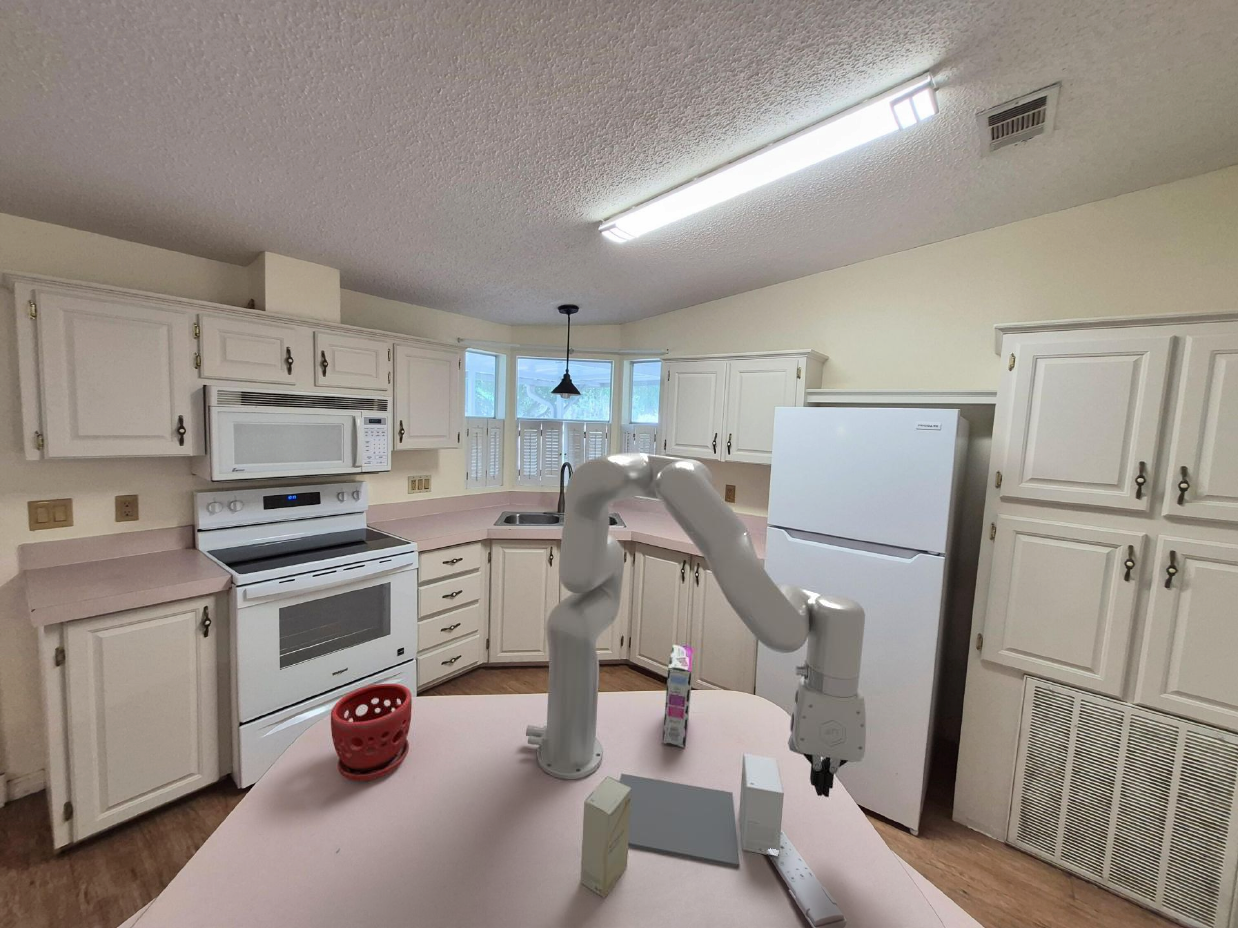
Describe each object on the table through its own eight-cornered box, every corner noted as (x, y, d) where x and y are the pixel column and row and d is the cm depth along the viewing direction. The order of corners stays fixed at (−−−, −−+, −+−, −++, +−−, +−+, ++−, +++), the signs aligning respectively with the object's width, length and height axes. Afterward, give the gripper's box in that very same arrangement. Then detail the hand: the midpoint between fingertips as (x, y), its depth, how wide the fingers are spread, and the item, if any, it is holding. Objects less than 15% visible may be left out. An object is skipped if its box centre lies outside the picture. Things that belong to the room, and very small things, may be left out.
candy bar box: (686, 749, 95) (692, 671, 94) (661, 744, 96) (666, 667, 95) (689, 716, 106) (694, 646, 104) (667, 712, 107) (671, 643, 105)
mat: (607, 842, 73) (607, 838, 73) (621, 776, 87) (621, 773, 87) (739, 867, 70) (739, 864, 70) (732, 795, 84) (732, 792, 83)
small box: (778, 859, 72) (784, 794, 71) (741, 850, 73) (746, 786, 72) (772, 816, 79) (777, 757, 79) (738, 809, 81) (743, 751, 80)
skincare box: (604, 899, 64) (609, 816, 63) (578, 881, 66) (582, 801, 65) (628, 864, 69) (632, 787, 68) (603, 848, 72) (607, 773, 71)
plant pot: (409, 732, 96) (410, 675, 95) (411, 777, 84) (413, 713, 83) (335, 748, 90) (335, 688, 89) (326, 799, 78) (326, 730, 77)
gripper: (785, 684, 70) (775, 799, 71) (893, 698, 68) (880, 817, 69) (776, 659, 77) (767, 765, 79) (874, 672, 75) (862, 780, 76)
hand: (820, 789), depth 74 cm, fingers closed
